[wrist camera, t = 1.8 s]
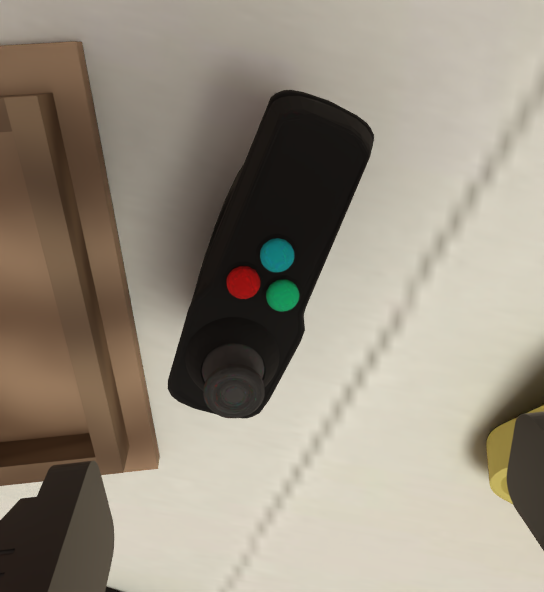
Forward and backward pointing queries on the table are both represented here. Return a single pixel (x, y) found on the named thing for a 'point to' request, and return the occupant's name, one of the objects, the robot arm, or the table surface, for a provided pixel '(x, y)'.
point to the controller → (268, 254)
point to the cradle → (62, 281)
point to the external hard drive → (110, 590)
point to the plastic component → (501, 456)
